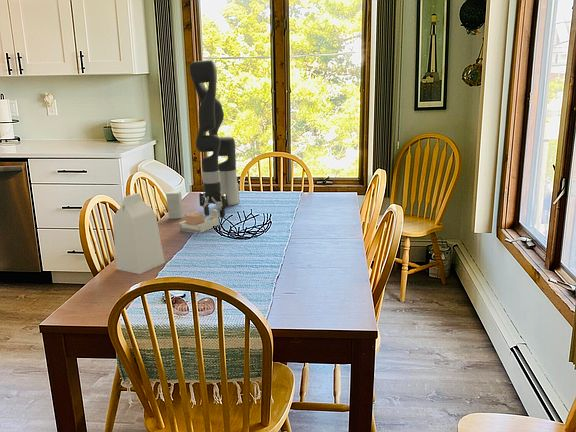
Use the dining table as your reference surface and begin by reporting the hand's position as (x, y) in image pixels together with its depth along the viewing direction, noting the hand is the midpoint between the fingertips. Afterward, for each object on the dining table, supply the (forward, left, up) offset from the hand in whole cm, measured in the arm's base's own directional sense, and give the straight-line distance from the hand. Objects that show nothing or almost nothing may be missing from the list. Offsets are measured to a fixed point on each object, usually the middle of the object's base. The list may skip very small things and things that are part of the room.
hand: (214, 216), depth 251 cm
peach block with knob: (+7, 0, -2) cm, 7 cm away
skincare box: (+1, -22, -3) cm, 22 cm away
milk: (+55, +11, -3) cm, 57 cm away
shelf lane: (+10, 0, -2) cm, 11 cm away
